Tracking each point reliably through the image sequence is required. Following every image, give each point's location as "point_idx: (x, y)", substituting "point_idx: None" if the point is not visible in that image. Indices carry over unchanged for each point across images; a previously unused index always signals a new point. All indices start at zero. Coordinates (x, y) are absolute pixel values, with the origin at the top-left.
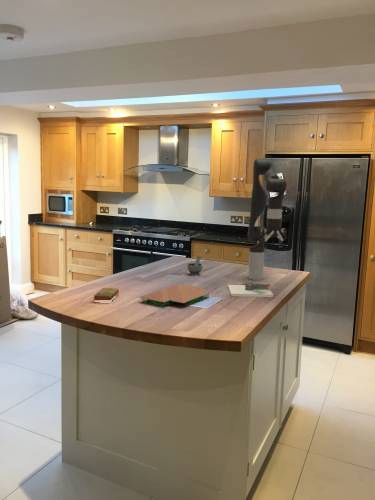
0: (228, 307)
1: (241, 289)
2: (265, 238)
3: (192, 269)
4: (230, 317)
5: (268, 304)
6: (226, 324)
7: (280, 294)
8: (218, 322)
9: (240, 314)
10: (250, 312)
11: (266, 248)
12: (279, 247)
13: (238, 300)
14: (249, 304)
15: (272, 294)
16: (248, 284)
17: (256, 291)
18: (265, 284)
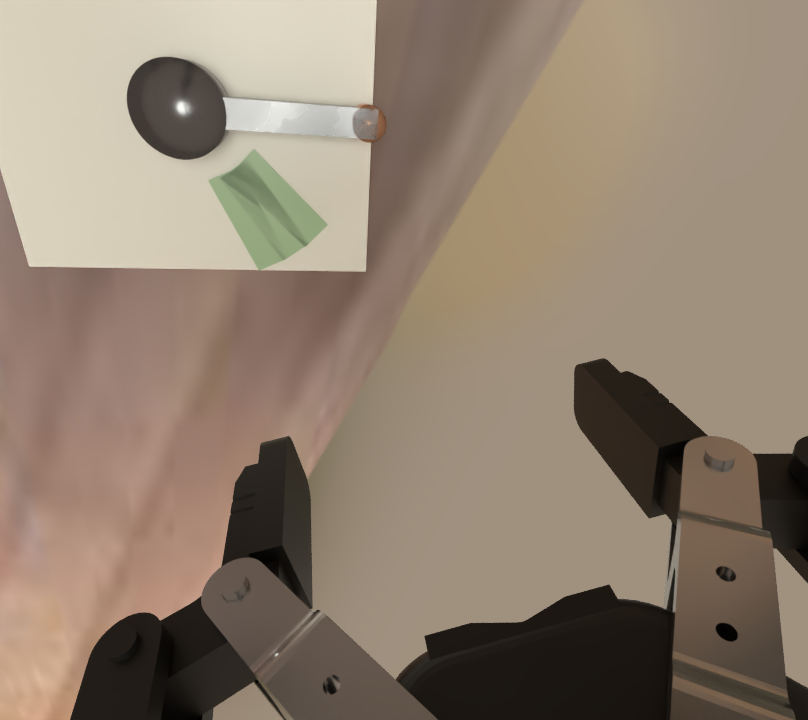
0: (59, 490)
1: (107, 111)
2: (263, 693)
3: None
4: (91, 606)
5: (299, 416)
6: (84, 665)
7: (440, 180)
8: (45, 656)
9: (137, 569)
10: (187, 540)
11: (307, 481)
12: (577, 396)
13: (108, 356)
14: (185, 428)
15: (360, 271)
16: (162, 136)
17: (246, 198)
18: (338, 114)
